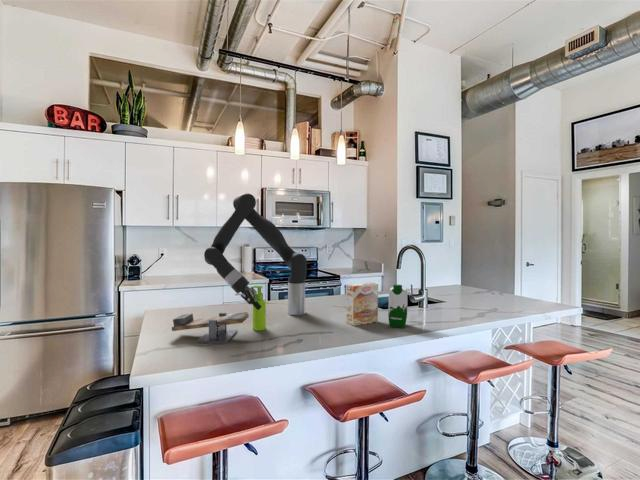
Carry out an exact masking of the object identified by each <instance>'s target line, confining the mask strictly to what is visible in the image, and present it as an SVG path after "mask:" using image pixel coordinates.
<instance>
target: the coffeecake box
mask: <svg viewBox="0 0 640 480" xmlns="http://www.w3.org/2000/svg"><path fill="white" fill-rule="evenodd" d="M345 293H346V295H345V296H346V298H345V299H346V301H345V302H346V304H345V305H346V306H345V309H346V310H345V323H346V324H349V325H350V326H352V325H353V326H352V327H355V326H356V327H357V326H361V324H362V325H368V324H367V323H369V324H374V323H373V322H376V323H379V322H378V321H379V283H375V282H371V281H369V282H357V283H355V282H354V283H346V292H345Z"/></svg>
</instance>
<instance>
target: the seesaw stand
mask: <svg viewBox="0 0 640 480" xmlns="http://www.w3.org/2000/svg"><path fill="white" fill-rule="evenodd" d="M226 315H227V312H219V313H218V317H220V316H226ZM227 327H228V325H220V326H217V320H209V327H208V331H207V332H206V333H204V334H203V335H202V336H201V337H199V338H198V339H197V340H196V343H197V344H211V345H212V344H213V345H214V344H217V345H220V344H221V345H226V344H227V343H228V342H229V341H230V340H232V338H233V337H234V336H235V335H236V334H237V333H238V329H228V328H227Z"/></svg>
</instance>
